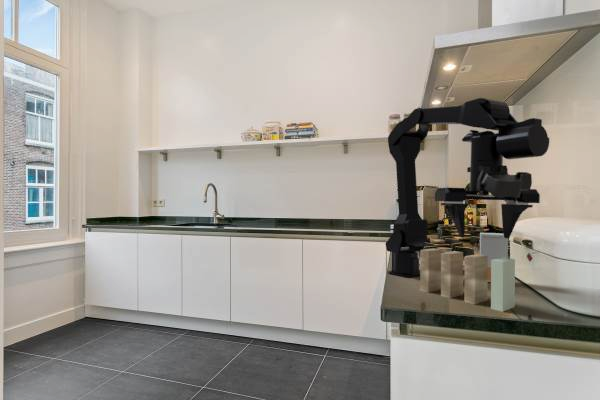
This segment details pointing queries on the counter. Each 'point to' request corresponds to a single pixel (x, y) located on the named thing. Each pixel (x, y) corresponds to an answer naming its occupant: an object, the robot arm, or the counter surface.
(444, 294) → the maple tile
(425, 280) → the maple tile
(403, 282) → the counter surface
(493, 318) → the counter surface
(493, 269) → the sage tile
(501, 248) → the skincare box
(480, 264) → the maple tile
